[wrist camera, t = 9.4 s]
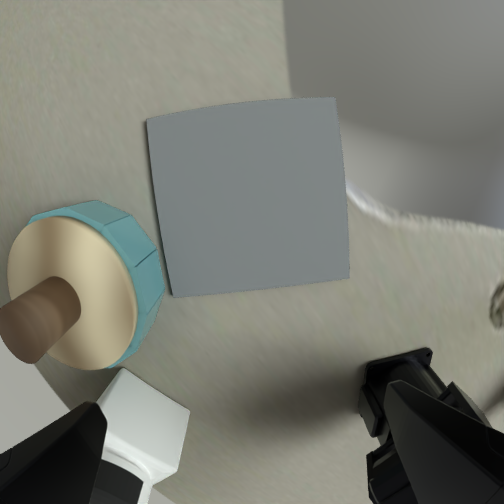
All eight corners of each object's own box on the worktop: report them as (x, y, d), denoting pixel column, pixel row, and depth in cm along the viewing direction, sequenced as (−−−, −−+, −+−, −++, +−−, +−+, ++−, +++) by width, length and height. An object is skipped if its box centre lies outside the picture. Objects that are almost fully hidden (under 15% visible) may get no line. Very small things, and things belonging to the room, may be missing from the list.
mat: (333, 98, 17) (335, 97, 16) (347, 276, 20) (349, 278, 19) (148, 120, 17) (146, 119, 16) (175, 295, 20) (173, 297, 20)
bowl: (147, 189, 18) (122, 194, 14) (177, 337, 21) (163, 369, 17) (31, 216, 18) (-2, 225, 14) (65, 338, 21) (42, 362, 17)
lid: (116, 200, 14) (57, 216, 9) (157, 362, 17) (130, 424, 11) (2, 230, 15) (-53, 250, 9) (44, 358, 17) (6, 399, 12)
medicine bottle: (95, 402, 23) (46, 491, 11) (123, 364, 22) (62, 473, 10) (155, 440, 24) (127, 535, 13) (192, 409, 23) (168, 526, 11)
